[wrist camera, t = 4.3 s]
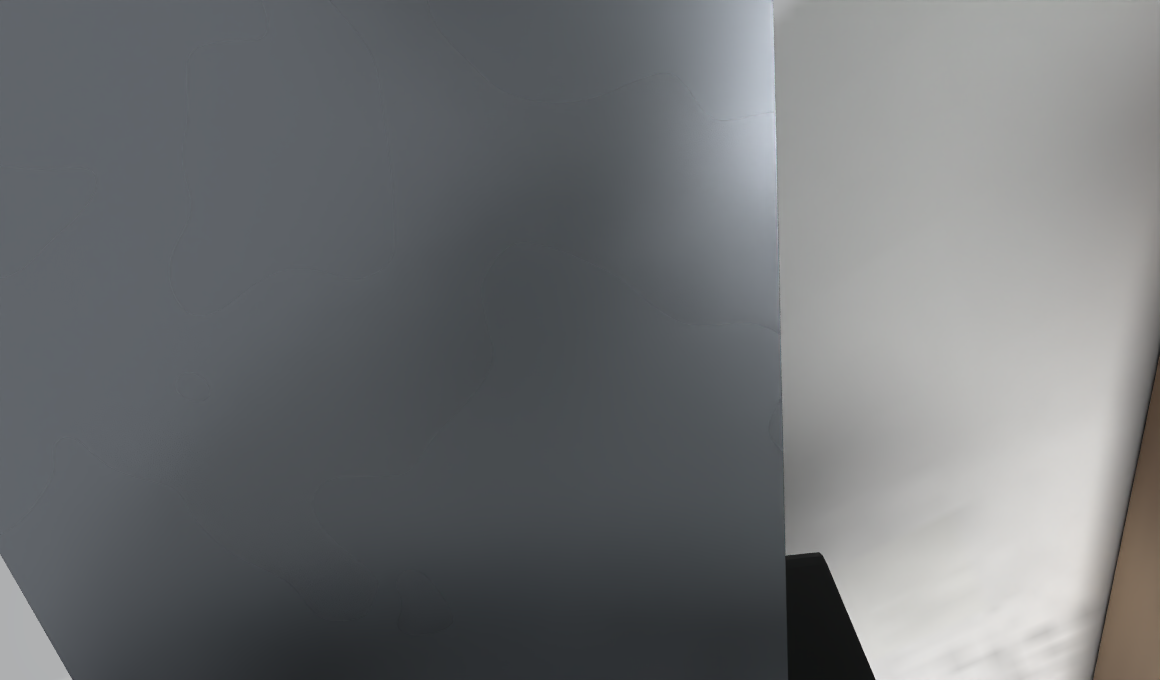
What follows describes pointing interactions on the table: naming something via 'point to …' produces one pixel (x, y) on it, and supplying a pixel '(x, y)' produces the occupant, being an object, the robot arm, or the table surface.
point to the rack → (1137, 571)
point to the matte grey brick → (393, 338)
